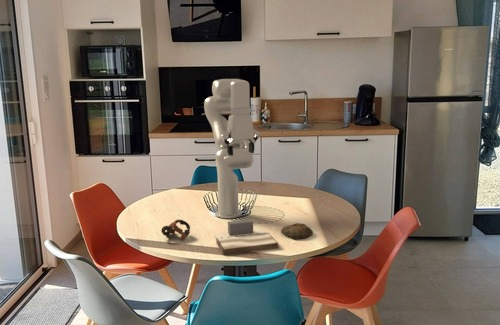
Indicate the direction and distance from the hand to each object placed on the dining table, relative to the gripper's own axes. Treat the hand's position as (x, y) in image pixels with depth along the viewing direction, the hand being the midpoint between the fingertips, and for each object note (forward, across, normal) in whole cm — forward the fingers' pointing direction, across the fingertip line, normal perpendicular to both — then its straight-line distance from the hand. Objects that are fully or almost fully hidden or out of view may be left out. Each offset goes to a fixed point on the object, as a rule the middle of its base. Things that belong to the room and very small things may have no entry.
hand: (241, 153), depth 194 cm
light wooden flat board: (+35, +5, +12) cm, 37 cm away
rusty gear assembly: (+35, +26, -11) cm, 45 cm away
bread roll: (+35, -20, +12) cm, 42 cm away
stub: (+34, +2, +3) cm, 35 cm away
